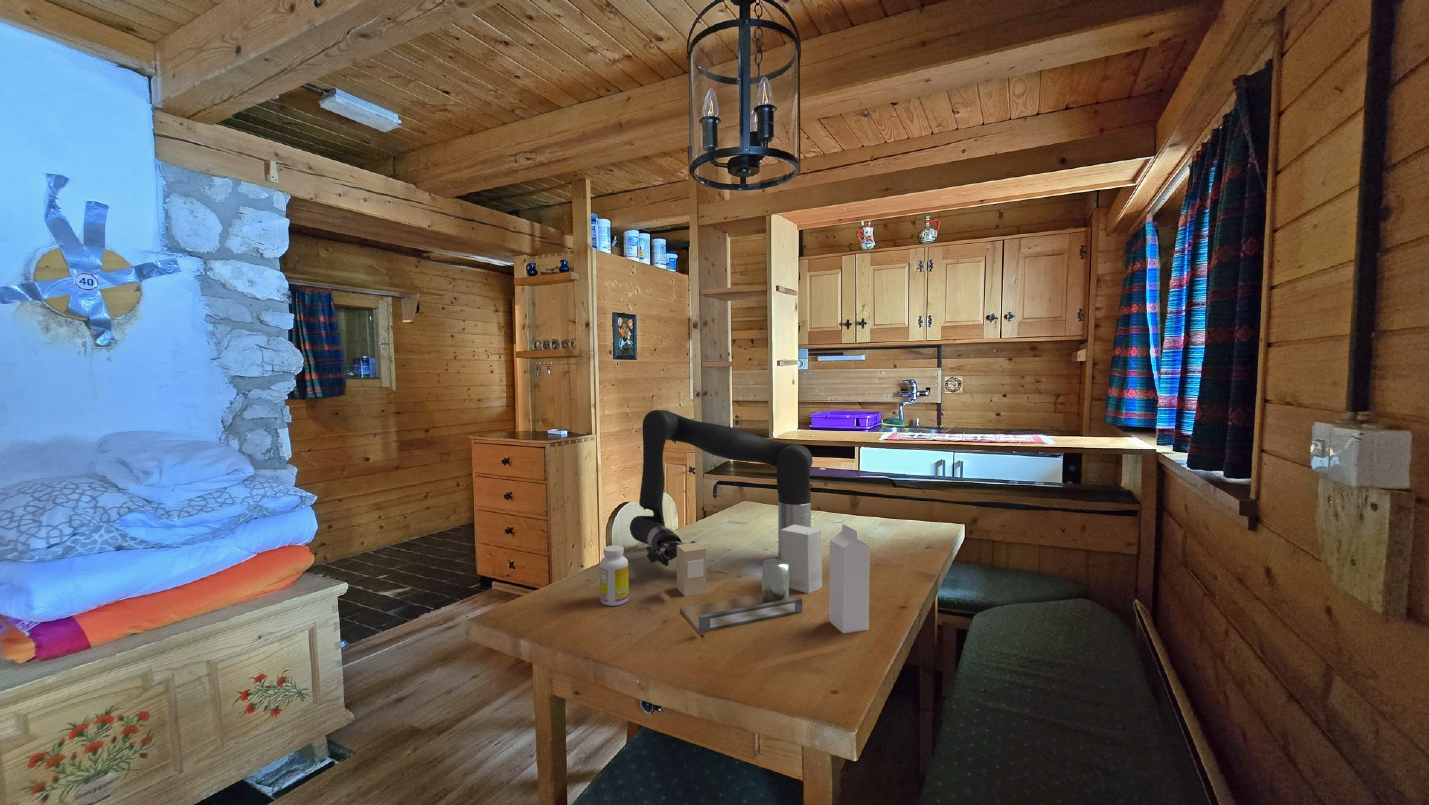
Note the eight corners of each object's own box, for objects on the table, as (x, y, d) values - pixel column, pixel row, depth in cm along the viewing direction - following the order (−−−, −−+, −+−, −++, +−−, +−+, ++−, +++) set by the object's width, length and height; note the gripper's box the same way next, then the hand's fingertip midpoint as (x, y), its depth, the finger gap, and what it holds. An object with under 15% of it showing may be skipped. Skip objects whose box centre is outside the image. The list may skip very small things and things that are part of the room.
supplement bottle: (631, 596, 138) (631, 544, 137) (624, 607, 132) (624, 552, 131) (604, 595, 139) (604, 543, 138) (596, 606, 132) (595, 552, 132)
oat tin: (780, 599, 133) (780, 557, 132) (793, 609, 127) (794, 565, 127) (757, 603, 130) (757, 560, 130) (770, 613, 125) (770, 568, 124)
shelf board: (773, 596, 138) (773, 579, 137) (802, 618, 126) (802, 599, 125) (679, 613, 128) (679, 594, 128) (701, 638, 116) (701, 618, 116)
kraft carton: (697, 589, 142) (697, 542, 141) (706, 598, 137) (706, 548, 136) (677, 593, 140) (676, 545, 139) (684, 601, 135) (684, 551, 134)
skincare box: (822, 591, 141) (823, 529, 140) (807, 599, 136) (808, 534, 135) (794, 582, 146) (795, 523, 146) (779, 590, 142) (779, 528, 141)
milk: (843, 639, 116) (843, 532, 114) (828, 626, 121) (829, 524, 120) (869, 635, 117) (870, 529, 116) (854, 622, 123) (854, 522, 122)
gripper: (638, 531, 155) (656, 548, 140) (688, 526, 161) (709, 542, 146) (639, 559, 156) (656, 578, 141) (688, 552, 161) (709, 570, 146)
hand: (683, 560), depth 143 cm, fingers open, 8 cm apart
